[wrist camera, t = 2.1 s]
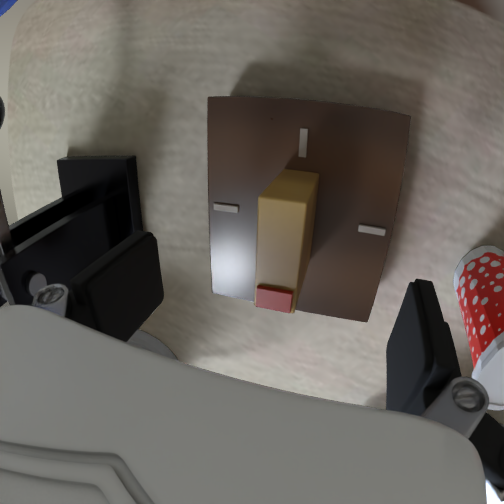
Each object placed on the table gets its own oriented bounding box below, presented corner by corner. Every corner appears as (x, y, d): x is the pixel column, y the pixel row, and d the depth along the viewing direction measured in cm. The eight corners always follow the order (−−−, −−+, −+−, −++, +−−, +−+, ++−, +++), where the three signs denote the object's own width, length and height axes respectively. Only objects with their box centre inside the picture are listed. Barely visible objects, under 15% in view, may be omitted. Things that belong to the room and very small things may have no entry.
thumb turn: (283, 168, 15) (255, 197, 11) (319, 173, 15) (306, 205, 11) (277, 257, 18) (252, 309, 13) (309, 262, 17) (293, 317, 13)
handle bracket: (66, 156, 23) (-49, 208, 13) (136, 155, 21) (-3, 219, 11) (84, 258, 27) (-4, 329, 17) (150, 274, 25) (57, 370, 16)
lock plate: (228, 96, 17) (205, 96, 14) (401, 113, 15) (411, 116, 12) (227, 269, 23) (210, 294, 20) (367, 294, 20) (367, 324, 18)
